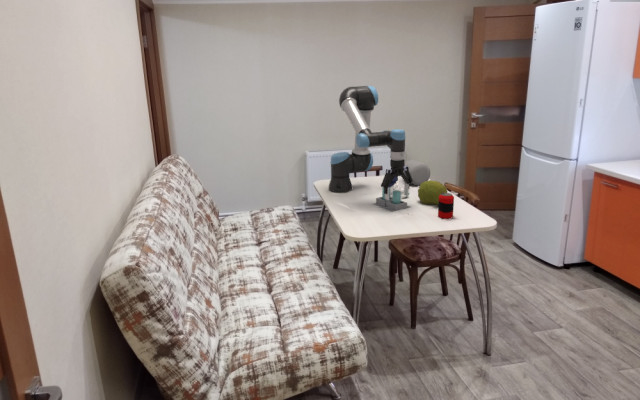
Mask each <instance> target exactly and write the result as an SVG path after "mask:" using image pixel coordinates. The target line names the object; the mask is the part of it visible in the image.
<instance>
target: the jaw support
mask: <svg viewBox="0 0 640 400" xmlns="http://www.w3.org/2000/svg"><path fill="white" fill-rule="evenodd" d="M396 190H397V191H401V200H403V199H405V198H406V197H407V198H408V196H406V195H404V188H403V187H401V185H400V183H397V182H396V183H395V184H394V185H393V186H392V187H391V188H390V197H392V198H393V191H396Z"/></svg>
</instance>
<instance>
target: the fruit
mask: <svg viewBox="0 0 640 400" xmlns="http://www.w3.org/2000/svg"><path fill="white" fill-rule="evenodd" d="M441 193H448V188H447V187H446V186H445V185H444V184H443V183H442V182H441V181H436V180H432V179H429V180H428V181H426V182H423V183H422V184H421V185H420V186H418V188H417V197H418V199H419V200H420V201H421V203H422V204H426V205H434V206H438V202H439V196H440V194H441Z"/></svg>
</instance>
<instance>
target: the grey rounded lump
mask: <svg viewBox="0 0 640 400" xmlns="http://www.w3.org/2000/svg"><path fill="white" fill-rule="evenodd" d="M404 166H407V167H409V172H410V175H411V178H412V180H413V182H411V184H412V185H414V186H416V187H417V186H418V187H420V185H421V184H422V183H423V182H426V181H430V177H431V168H429V166H428V165H427V164H426V163H423V162H421V161H419V160H415V159H409V160H407V161H405V165H404ZM403 172H404V171H403ZM404 174H405V172H404ZM405 176H406V174H405Z"/></svg>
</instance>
